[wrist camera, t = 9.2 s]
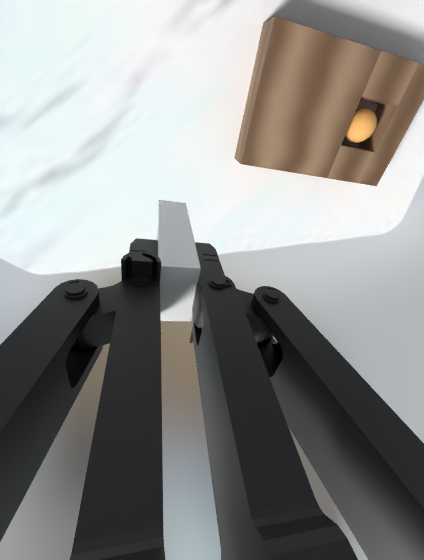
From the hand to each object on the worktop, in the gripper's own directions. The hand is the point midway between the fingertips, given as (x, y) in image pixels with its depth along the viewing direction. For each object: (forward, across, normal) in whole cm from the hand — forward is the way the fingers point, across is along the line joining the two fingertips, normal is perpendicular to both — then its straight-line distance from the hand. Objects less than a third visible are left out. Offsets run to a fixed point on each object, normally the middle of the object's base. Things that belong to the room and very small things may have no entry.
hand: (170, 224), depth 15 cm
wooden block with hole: (+24, +21, +7) cm, 33 cm away
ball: (+22, +26, +7) cm, 35 cm away
